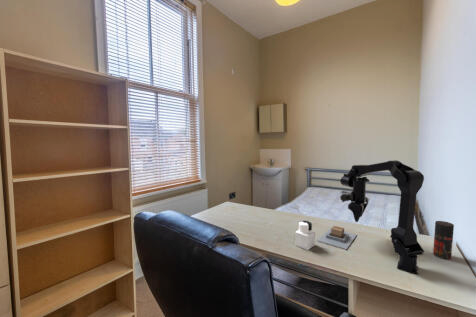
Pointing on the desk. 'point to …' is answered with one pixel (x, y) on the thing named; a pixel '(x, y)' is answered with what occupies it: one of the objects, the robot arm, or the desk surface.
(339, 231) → the walnut block
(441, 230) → the deodorant
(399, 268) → the robot arm
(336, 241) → the base
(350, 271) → the desk surface
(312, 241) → the medicine bottle
